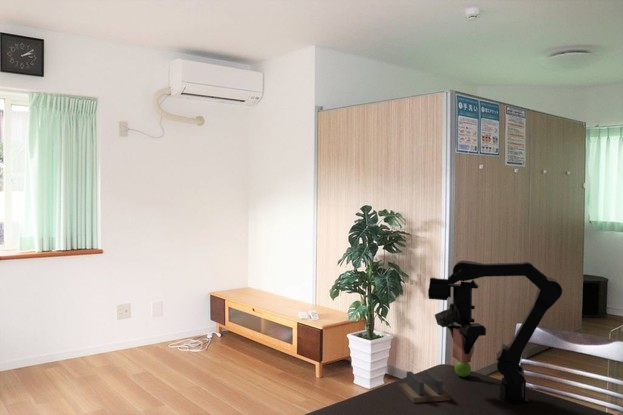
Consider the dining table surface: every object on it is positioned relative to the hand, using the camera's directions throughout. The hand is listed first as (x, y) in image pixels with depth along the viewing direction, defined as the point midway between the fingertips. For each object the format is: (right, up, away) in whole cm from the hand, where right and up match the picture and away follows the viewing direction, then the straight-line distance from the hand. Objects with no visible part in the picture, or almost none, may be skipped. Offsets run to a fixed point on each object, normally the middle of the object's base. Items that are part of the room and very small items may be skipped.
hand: (461, 351), depth 162 cm
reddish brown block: (0, -3, 0) cm, 2 cm away
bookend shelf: (-12, -13, -1) cm, 18 cm away
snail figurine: (+5, -13, +15) cm, 20 cm away
